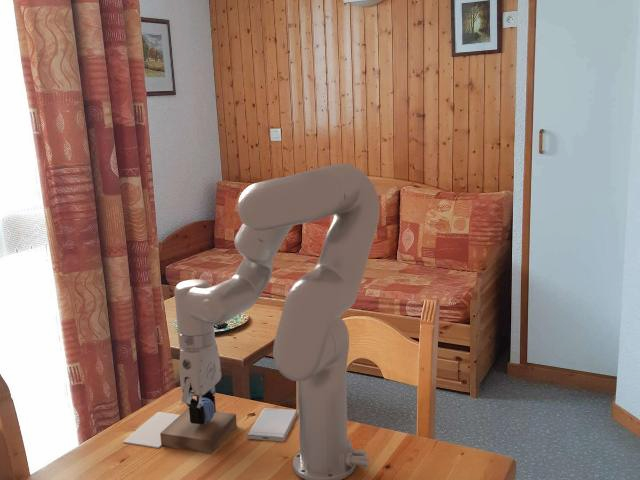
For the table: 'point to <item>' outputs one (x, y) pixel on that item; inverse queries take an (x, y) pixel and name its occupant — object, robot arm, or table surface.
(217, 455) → the table surface
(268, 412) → the hard drive
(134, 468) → the table surface
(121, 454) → the table surface
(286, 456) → the table surface
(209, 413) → the decorative dice
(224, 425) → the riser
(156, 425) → the mat
